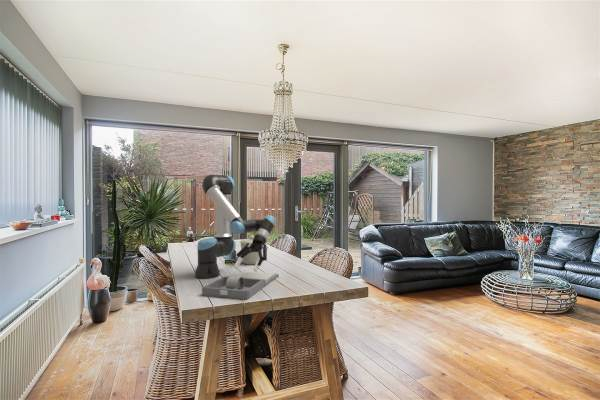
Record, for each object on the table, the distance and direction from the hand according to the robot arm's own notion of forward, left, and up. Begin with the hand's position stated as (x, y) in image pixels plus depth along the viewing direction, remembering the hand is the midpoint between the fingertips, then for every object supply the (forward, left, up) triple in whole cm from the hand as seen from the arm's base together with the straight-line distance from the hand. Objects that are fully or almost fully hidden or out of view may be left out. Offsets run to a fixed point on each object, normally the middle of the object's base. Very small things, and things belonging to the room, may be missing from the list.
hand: (245, 269), depth 178 cm
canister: (-23, +61, -11) cm, 67 cm away
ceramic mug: (-3, -7, -11) cm, 13 cm away
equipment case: (-3, +6, -11) cm, 12 cm away
